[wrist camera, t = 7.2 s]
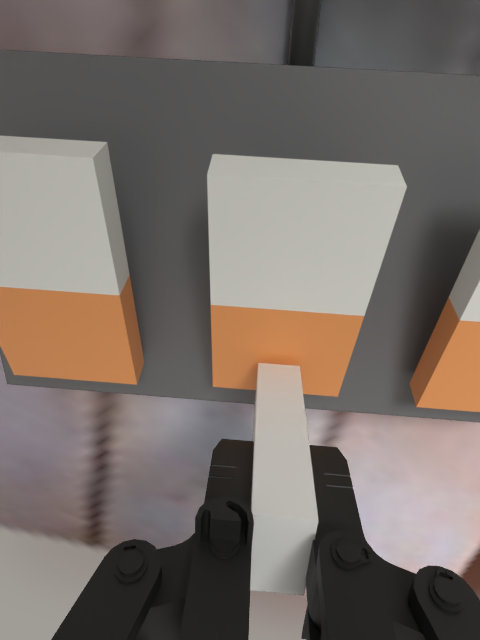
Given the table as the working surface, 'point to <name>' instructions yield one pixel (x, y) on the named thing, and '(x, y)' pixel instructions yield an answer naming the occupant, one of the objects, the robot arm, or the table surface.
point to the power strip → (263, 141)
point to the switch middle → (294, 263)
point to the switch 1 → (64, 264)
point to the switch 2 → (454, 347)
